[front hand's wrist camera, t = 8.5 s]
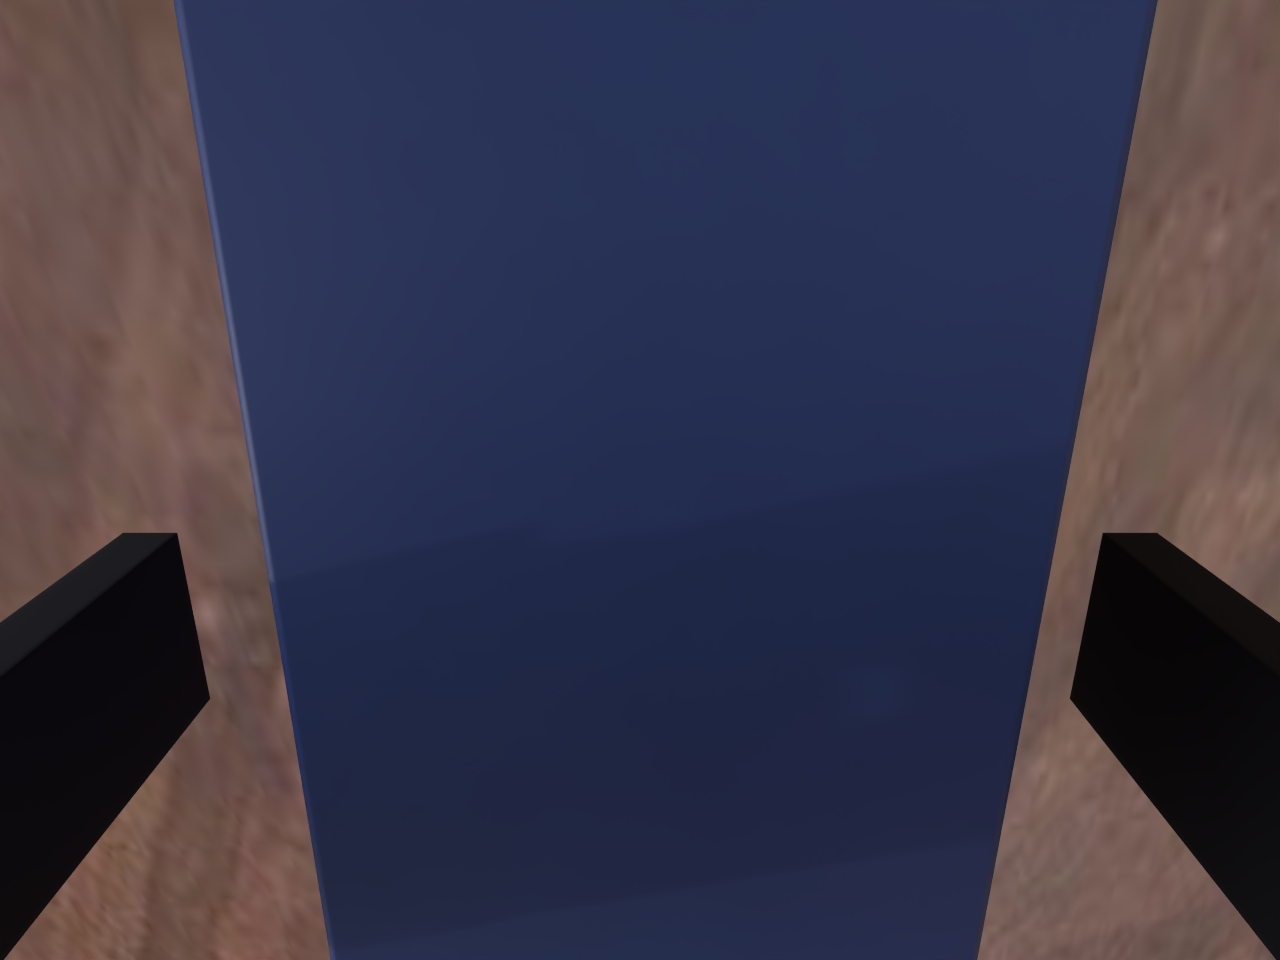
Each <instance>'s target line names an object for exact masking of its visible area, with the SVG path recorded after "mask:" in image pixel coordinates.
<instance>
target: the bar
mask: <svg viewBox="0 0 1280 960" xmlns="http://www.w3.org/2000/svg"><path fill="white" fill-rule="evenodd" d="M174 5H175V11H176V17H177V23H178V29H179V35H180V41H181V47H182V53H183V59H184V66H185V72H186V78H187V84H188V90H189V96H190V102H191V108H192V114H193V121H194V127H195V133H196V139H197V145H198V151H199V157H200V163H201V169H202V175H203V182H204V188H205V194H206V200H207V206H208V212H209V218H210V224H211V230H212V237H213V243H214V249H215V255H216V261H217V267H218V273H219V279H220V285H221V291H222V298H223V304H224V310H225V316H226V322H227V328H228V334H229V340H230V346H231V353H232V359H233V365H234V371H235V377H236V383H237V389H238V395H239V401H240V407H241V414H242V420H243V426H244V432H245V438H246V444H247V450H248V456H249V462H250V469H251V475H252V481H253V487H254V493H255V499H256V505H257V511H258V517H259V523H260V530H261V536H262V542H263V548H264V554H265V560H266V566H267V572H268V578H269V585H270V591H271V597H272V603H273V609H274V615H275V621H276V627H277V633H278V639H279V646H280V652H281V658H282V664H283V670H284V676H285V682H286V688H287V694H288V701H289V707H290V713H291V719H292V725H293V731H294V737H295V743H296V749H297V755H298V762H299V768H300V774H301V780H302V786H303V792H304V798H305V804H306V810H307V817H308V823H309V829H310V835H311V841H312V847H313V853H314V859H315V865H316V871H317V878H318V884H319V890H320V896H321V902H322V908H323V914H324V920H325V926H326V933H327V939H328V945H329V951H330V957H331V960H977V957H978V952H979V947H980V941H981V936H982V931H983V926H984V920H985V915H986V910H987V904H988V899H989V894H990V888H991V883H992V878H993V872H994V867H995V862H996V856H997V851H998V846H999V840H1000V835H1001V830H1002V824H1003V819H1004V814H1005V809H1006V803H1007V798H1008V793H1009V787H1010V782H1011V777H1012V771H1013V766H1014V761H1015V755H1016V750H1017V745H1018V739H1019V734H1020V729H1021V723H1022V718H1023V713H1024V708H1025V702H1026V697H1027V692H1028V686H1029V681H1030V676H1031V670H1032V665H1033V660H1034V654H1035V649H1036V644H1037V638H1038V633H1039V628H1040V622H1041V617H1042V612H1043V606H1044V601H1045V596H1046V591H1047V585H1048V580H1049V575H1050V569H1051V564H1052V559H1053V553H1054V548H1055V543H1056V537H1057V532H1058V527H1059V521H1060V516H1061V511H1062V505H1063V500H1064V495H1065V489H1066V484H1067V479H1068V474H1069V468H1070V463H1071V458H1072V452H1073V447H1074V442H1075V436H1076V431H1077V426H1078V420H1079V415H1080V410H1081V404H1082V399H1083V394H1084V388H1085V383H1086V378H1087V373H1088V367H1089V362H1090V357H1091V351H1092V346H1093V341H1094V335H1095V330H1096V325H1097V319H1098V314H1099V309H1100V303H1101V298H1102V293H1103V287H1104V282H1105V277H1106V271H1107V266H1108V261H1109V256H1110V250H1111V245H1112V240H1113V234H1114V229H1115V224H1116V218H1117V213H1118V208H1119V202H1120V197H1121V192H1122V186H1123V181H1124V176H1125V170H1126V165H1127V160H1128V154H1129V149H1130V144H1131V139H1132V133H1133V128H1134V123H1135V117H1136V112H1137V107H1138V101H1139V96H1140V91H1141V85H1142V80H1143V75H1144V69H1145V64H1146V59H1147V53H1148V48H1149V43H1150V37H1151V32H1152V27H1153V22H1154V16H1155V11H1156V6H1157V0H174Z"/></svg>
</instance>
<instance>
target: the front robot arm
mask: <svg viewBox="0 0 1280 960" xmlns="http://www.w3.org/2000/svg"><path fill="white" fill-rule="evenodd" d="M209 699H210V696H209V691H208V686H207V681H206V676H205V671H204V666H203V661H202V656H201V651H200V645H199V640H198V635H197V630H196V625H195V620H194V615H193V610H192V605H191V600H190V595H189V590H188V585H187V580H186V575H185V570H184V565H183V560H182V555H181V550H180V545H179V540H178V535H177V533H122V534H121V535H120V536H118V537H117V538H115V539H114V540H113V541H111V542H110V543H109V544H107V545H106V546H105V547H103V548H102V549H100V550H99V551H98V552H96V553H95V554H94V555H92V556H91V557H89V558H88V559H87V560H85V561H84V562H83V563H81V564H80V565H79V566H77V567H76V568H74V569H73V570H72V571H70V572H69V573H68V574H66V575H65V576H64V577H62V578H61V579H59V580H58V581H57V582H55V583H54V584H53V585H51V586H50V587H48V588H47V589H46V590H44V591H43V592H42V593H40V594H39V595H38V596H36V597H35V598H33V599H32V600H31V601H29V602H28V603H27V604H25V605H24V606H22V607H21V608H20V609H18V610H17V611H16V612H14V613H13V614H12V615H10V616H9V617H7V618H6V619H5V620H3V621H2V622H1V623H0V960H4V959H5V957H6V956H7V955H8V954H9V952H10V951H11V950H12V949H13V947H14V946H15V945H16V944H17V942H18V941H19V940H20V938H21V937H22V936H23V935H24V933H25V932H26V931H27V930H28V928H29V927H30V926H31V925H32V923H33V922H34V921H35V919H36V918H37V917H38V916H39V914H40V913H41V912H42V911H43V909H44V908H45V907H46V906H47V904H48V903H49V902H50V901H51V899H52V898H53V897H54V895H55V894H56V893H57V892H58V890H59V889H60V888H61V887H62V885H63V884H64V883H65V882H66V880H67V879H68V878H69V876H70V875H71V874H72V873H73V871H74V870H75V869H76V868H77V866H78V865H79V864H80V863H81V861H82V860H83V859H84V858H85V856H86V855H87V854H88V852H89V851H90V850H91V849H92V847H93V846H94V845H95V844H96V842H97V841H98V840H99V839H100V837H101V836H102V835H103V833H104V832H105V831H106V830H107V828H108V827H109V826H110V825H111V823H112V822H113V821H114V820H115V818H116V817H117V816H118V815H119V813H120V812H121V811H122V809H123V808H124V807H125V806H126V804H127V803H128V802H129V801H130V799H131V798H132V797H133V796H134V794H135V793H136V792H137V790H138V789H139V788H140V787H141V785H142V784H143V783H144V782H145V780H146V779H147V778H148V777H149V775H150V774H151V773H152V772H153V770H154V769H155V768H156V766H157V765H158V764H159V763H160V761H161V760H162V759H163V758H164V756H165V755H166V754H167V753H168V751H169V750H170V749H171V747H172V746H173V745H174V744H175V742H176V741H177V740H178V739H179V737H180V736H181V735H182V734H183V732H184V731H185V730H186V729H187V727H188V726H189V725H190V723H191V722H192V721H193V720H194V718H195V717H196V716H197V715H198V713H199V712H200V711H201V710H202V708H203V707H204V706H205V704H206V703H207V702H208V701H209ZM1070 699H1071V701H1072V702H1073V703H1074V704H1075V706H1076V707H1077V708H1078V710H1079V711H1080V712H1081V713H1082V715H1083V716H1084V717H1085V718H1086V720H1087V721H1088V722H1089V723H1090V725H1091V726H1092V727H1093V729H1094V730H1095V731H1096V732H1097V734H1098V735H1099V736H1100V737H1101V739H1102V740H1103V741H1104V742H1105V744H1106V745H1107V746H1108V747H1109V749H1110V750H1111V751H1112V753H1113V754H1114V755H1115V756H1116V758H1117V759H1118V760H1119V761H1120V763H1121V764H1122V765H1123V766H1124V768H1125V769H1126V770H1127V772H1128V773H1129V774H1130V775H1131V777H1132V778H1133V779H1134V780H1135V782H1136V783H1137V784H1138V785H1139V787H1140V788H1141V789H1142V790H1143V792H1144V793H1145V794H1146V796H1147V797H1148V798H1149V799H1150V801H1151V802H1152V803H1153V804H1154V806H1155V807H1156V808H1157V809H1158V811H1159V812H1160V813H1161V815H1162V816H1163V817H1164V818H1165V820H1166V821H1167V822H1168V823H1169V825H1170V826H1171V827H1172V828H1173V830H1174V831H1175V832H1176V833H1177V835H1178V836H1179V837H1180V839H1181V840H1182V841H1183V842H1184V844H1185V845H1186V846H1187V847H1188V849H1189V850H1190V851H1191V852H1192V854H1193V855H1194V856H1195V858H1196V859H1197V860H1198V861H1199V863H1200V864H1201V865H1202V866H1203V868H1204V869H1205V870H1206V871H1207V873H1208V874H1209V875H1210V876H1211V878H1212V879H1213V880H1214V882H1215V883H1216V884H1217V885H1218V887H1219V888H1220V889H1221V890H1222V892H1223V893H1224V894H1225V895H1226V897H1227V898H1228V899H1229V901H1230V902H1231V903H1232V904H1233V906H1234V907H1235V908H1236V909H1237V911H1238V912H1239V913H1240V914H1241V916H1242V917H1243V918H1244V919H1245V921H1246V922H1247V923H1248V925H1249V926H1250V927H1251V928H1252V930H1253V931H1254V932H1255V933H1256V935H1257V936H1258V937H1259V938H1260V940H1261V941H1262V942H1263V944H1264V945H1265V946H1266V947H1267V949H1268V950H1269V951H1270V952H1271V954H1272V955H1273V956H1274V957H1275V959H1276V960H1280V623H1279V622H1278V621H1277V620H1275V619H1274V618H1273V617H1271V616H1270V615H1268V614H1267V613H1266V612H1264V611H1263V610H1262V609H1260V608H1259V607H1258V606H1256V605H1255V604H1253V603H1252V602H1251V601H1249V600H1248V599H1247V598H1245V597H1244V596H1242V595H1241V594H1240V593H1238V592H1237V591H1236V590H1234V589H1233V588H1232V587H1230V586H1229V585H1227V584H1226V583H1225V582H1223V581H1222V580H1221V579H1219V578H1218V577H1216V576H1215V575H1214V574H1212V573H1211V572H1210V571H1208V570H1207V569H1206V568H1204V567H1203V566H1201V565H1200V564H1199V563H1197V562H1196V561H1195V560H1193V559H1192V558H1191V557H1189V556H1188V555H1186V554H1185V553H1184V552H1182V551H1181V550H1180V549H1178V548H1177V547H1175V546H1174V545H1173V544H1171V543H1170V542H1169V541H1167V540H1166V539H1165V538H1163V537H1162V536H1160V535H1159V534H1158V533H1103V535H1102V540H1101V545H1100V550H1099V555H1098V560H1097V565H1096V570H1095V575H1094V580H1093V585H1092V590H1091V595H1090V600H1089V605H1088V610H1087V615H1086V620H1085V625H1084V630H1083V635H1082V640H1081V645H1080V650H1079V656H1078V661H1077V666H1076V671H1075V676H1074V681H1073V686H1072V691H1071V696H1070Z"/></svg>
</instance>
